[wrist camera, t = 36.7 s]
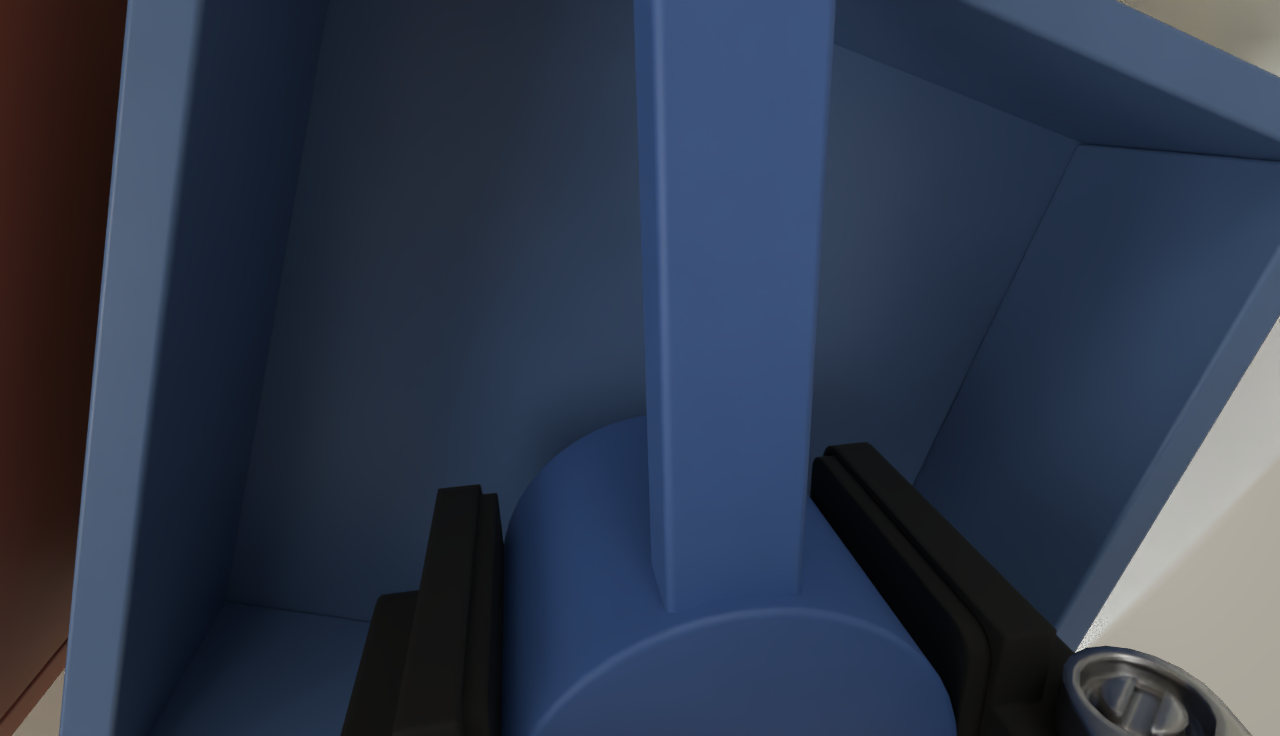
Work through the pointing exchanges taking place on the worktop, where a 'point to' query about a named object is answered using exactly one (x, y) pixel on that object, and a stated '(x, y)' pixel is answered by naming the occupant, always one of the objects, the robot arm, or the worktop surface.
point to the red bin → (48, 313)
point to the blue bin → (619, 305)
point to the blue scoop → (711, 436)
